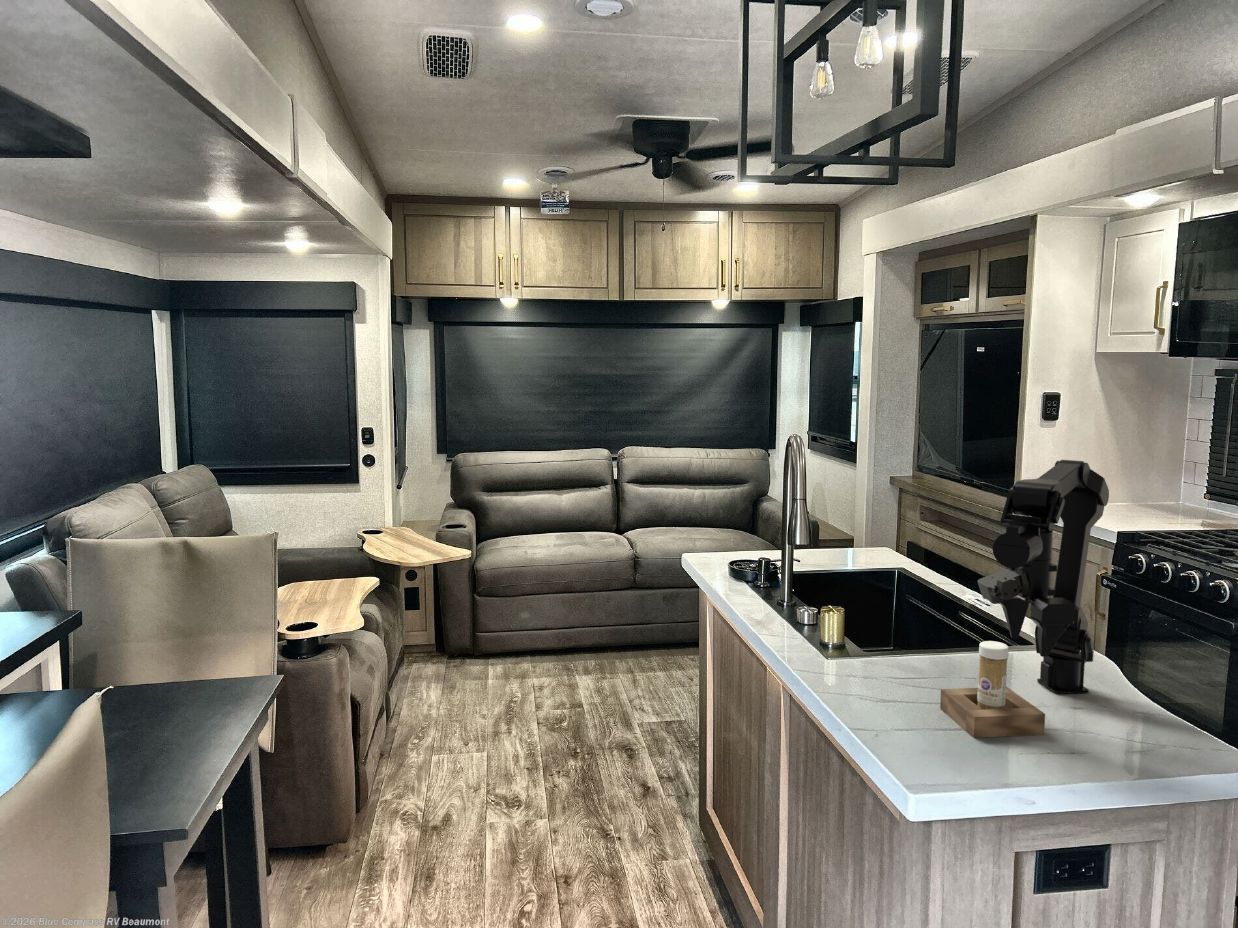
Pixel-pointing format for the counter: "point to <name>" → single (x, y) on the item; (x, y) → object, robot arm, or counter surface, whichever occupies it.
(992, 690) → the sprinkles bottle
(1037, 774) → the counter surface
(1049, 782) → the counter surface
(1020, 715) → the socket block
